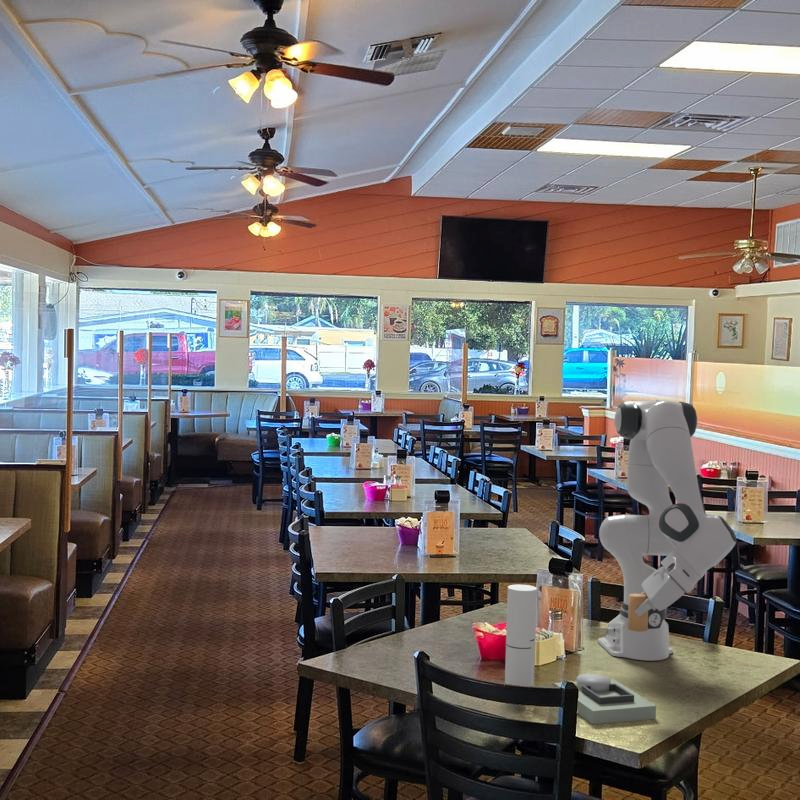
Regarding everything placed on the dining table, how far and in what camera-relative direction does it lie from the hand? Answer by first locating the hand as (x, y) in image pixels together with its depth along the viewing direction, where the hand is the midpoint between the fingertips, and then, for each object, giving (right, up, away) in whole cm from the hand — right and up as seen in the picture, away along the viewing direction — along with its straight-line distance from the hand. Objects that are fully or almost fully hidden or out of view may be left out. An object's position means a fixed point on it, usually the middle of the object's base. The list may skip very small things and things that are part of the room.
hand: (635, 610), depth 236 cm
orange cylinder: (+1, -4, 0) cm, 4 cm away
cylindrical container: (-27, -21, +9) cm, 35 cm away
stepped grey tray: (-8, -22, -3) cm, 24 cm away
